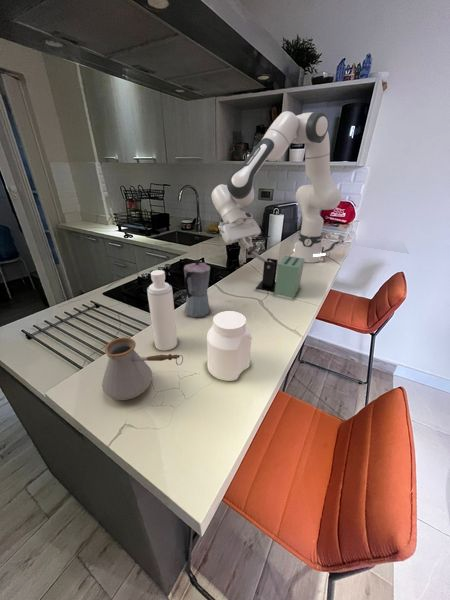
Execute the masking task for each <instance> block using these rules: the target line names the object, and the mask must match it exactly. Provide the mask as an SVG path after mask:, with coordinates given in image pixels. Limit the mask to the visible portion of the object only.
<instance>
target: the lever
mask: <svg viewBox="0 0 450 600" xmlns="http://www.w3.org/2000/svg"><path fill="white" fill-rule="evenodd" d="M255 251H256V249H254V248H251V249H250V250H249V251H248V252H247V255H248V256H251V255H252V256H254V257H255V258H257V259H258V260H260V261H261V262H263V263H264V261H267V258H266V259H265V258H264V257H263V256H261V255H260V254H258V253H256V252H255ZM268 262H272V261H271V260H270V261H268Z"/></svg>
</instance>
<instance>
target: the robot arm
mask: <svg viewBox="0 0 450 600" xmlns="http://www.w3.org/2000/svg"><path fill="white" fill-rule="evenodd" d="M293 144H295V145H305V147H304V148H305V149H304V162H305V163H304V164H305V165H304V170H305V172H304V173H305V176H306V177H307V178H308V179H309V180H310V183H311V184H304V185H301V186H299V187H298V189H297V190H296V193H295V200H296V201H295V202H296V203H297V204H298V206H299V208H300V212H301V227H300V233H299V236H298V240H297V242H295V244H294V248H293V252H292V253H290V255H289V256H292V257H298V258H304V263H309V264H311V263H312V264H313V263H321V262H324V261H325V260H324V256H326V252H328V251H330V250H331V249H332V248H334V246H335V244H337V243H340V242H341V243H344V240H342V241H340V240H337V241H335V242H333V243H332V245H331V246H330V248H327V249H325V247H324V246H323V245H322V243H321V242H322V238H323V235H322V232H323V229H324V228H323V227H324V218H323V217H322V216H321V214H320V211H319V210H321V211H330V210H335V209H336V208H337V207H338V206H339V205H340V203H341V201H342V193H341V191H340V189H339V188H338V187H337V186H336V184H335V183H334V180H333V177H332V174H331V144H330V135H329V119H328V116H327V114H326V113H325V112H323V111H313V112H311V111H310V112H303V113H301V114H297V115H296V114H295V113H294V112H292V111H289V110H285V111H282V112H281V113H280V114H279V115H278V116H277V117H276V118H275V120H274V121H273V122H272V123H271V125H270V126H269V127H268V129H267V130H266V132H265V133H264V135H263V136H262V138H261V140H260V141H259V142H257V144H256V145H255V147H254V148H253V149H252V151H251V152H250V153H249V154H248V156H247V158H246V159H245V160H244V161H243V163H242V164H241V165H240V166H239V167H238V168H237V169H235V170H234V171H233V172H231V174H230V175H229V176H228V178H227V181H226V184H223V183H221V184H218V185H217V186H215V187H214V188H213V190H212V192H211V197H210V198H211V201H212V204H213V206H214V208H215V209H216V211H217V214H219V215H220V217H221V219H222V222H220V223H219V224H218V230H219V232H220V235H221V237H222V239H223V242H224V244H226V245H230V244H235V243H238V242H240V244H241V245H242V246H243V247H245V249H246V250H249V249H253V247H254V244H253V240H252V239H254V238H256V237H258V236H259V235H260V234H261V233H262V230H261V227H260V226H259V225H258V223H257V221H256V220H255V219H254V218H253V217H254V216H253V214H252V213H251V212H246V211H243V210H242V209H244V208H247V207H249V206H250V205H252V203H254V200H255V196H256V195H255V189H254V179H255V176H256V174H258V172H259V171H260V169H261V168H262V166H263V165H264V163H266V161H268V162H277V161H279V160H280V159H281V158H282V157H283V156H284V155H285V153H286V151H287V150H288V149H289V146H290V145H293ZM324 249H325V250H324ZM324 252H325V253H324Z"/></svg>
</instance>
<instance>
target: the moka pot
mask: <svg viewBox="0 0 450 600" xmlns="http://www.w3.org/2000/svg"><path fill="white" fill-rule="evenodd" d="M183 273H184V274H183V275H184V280H183V281H184V287H185V290H186V300H185V306H184V307H185V308H184V312H185V314H186V315H187V316H189V317H191V318H201V317H205V316H207V315H208V314H209V313H210V302H209V295H208V290H209V282H210V275H211V266H210V265H208V264H207V263H206V262H200V259H195V260H194V262H193V263H188V264H185V265H184V266H183Z"/></svg>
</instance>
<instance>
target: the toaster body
mask: <svg viewBox="0 0 450 600" xmlns="http://www.w3.org/2000/svg"><path fill="white" fill-rule="evenodd" d="M304 264H305V262H304V258H298V257H292V256H290V255H284V256H283V258H282V259H281V260H280V261H279V262H278V263H277V271H276V279H275V282H276V285H275V292H274V295H277V296H283V297H286V298H292V299H294V298H295V296H296V294H297V293H298V291H299V289H300V287H301V281H302V275H303V271H304Z"/></svg>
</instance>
